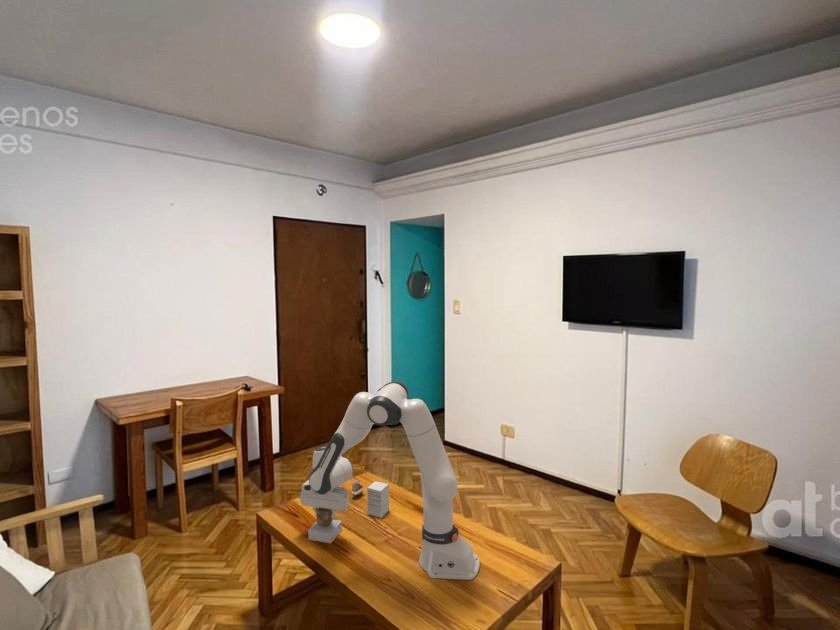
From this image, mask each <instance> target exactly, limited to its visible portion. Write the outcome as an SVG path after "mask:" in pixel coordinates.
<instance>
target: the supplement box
mask: <svg viewBox="0 0 840 630" xmlns="http://www.w3.org/2000/svg"><path fill="white" fill-rule="evenodd" d="M389 486H390V485H389V483H386V482H380V481H377V480H376V481H373V482H372V483H371V484H370V485H369V486H367V491H366V492H367V493H366V494H367V495H366V496H367V498H366V499H367V502H366V503H367V515H369V516H373V517H377V518H380V519H382V518H383V517H384V516H385V515H386V514H387V513H388V512H389V511H390V487H389Z"/></svg>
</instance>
